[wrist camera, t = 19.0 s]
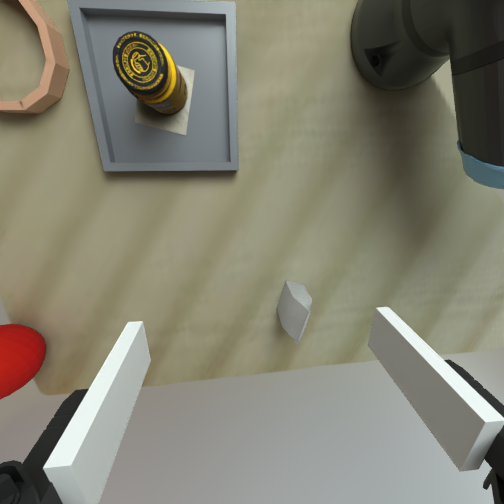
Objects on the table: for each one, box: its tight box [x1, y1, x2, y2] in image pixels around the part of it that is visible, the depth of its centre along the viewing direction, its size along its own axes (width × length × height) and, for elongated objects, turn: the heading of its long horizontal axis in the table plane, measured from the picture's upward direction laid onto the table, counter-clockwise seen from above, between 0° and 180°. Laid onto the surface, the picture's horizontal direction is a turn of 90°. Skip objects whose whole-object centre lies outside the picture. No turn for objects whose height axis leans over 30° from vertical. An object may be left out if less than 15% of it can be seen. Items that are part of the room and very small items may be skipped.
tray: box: [67, 0, 239, 171], centre depth 35 cm, size 20×20×2 cm
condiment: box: [113, 31, 195, 135], centre depth 30 cm, size 7×8×12 cm
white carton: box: [277, 281, 312, 344], centre depth 46 cm, size 4×7×10 cm, turn 167°
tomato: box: [0, 324, 46, 399], centre depth 43 cm, size 12×12×13 cm
